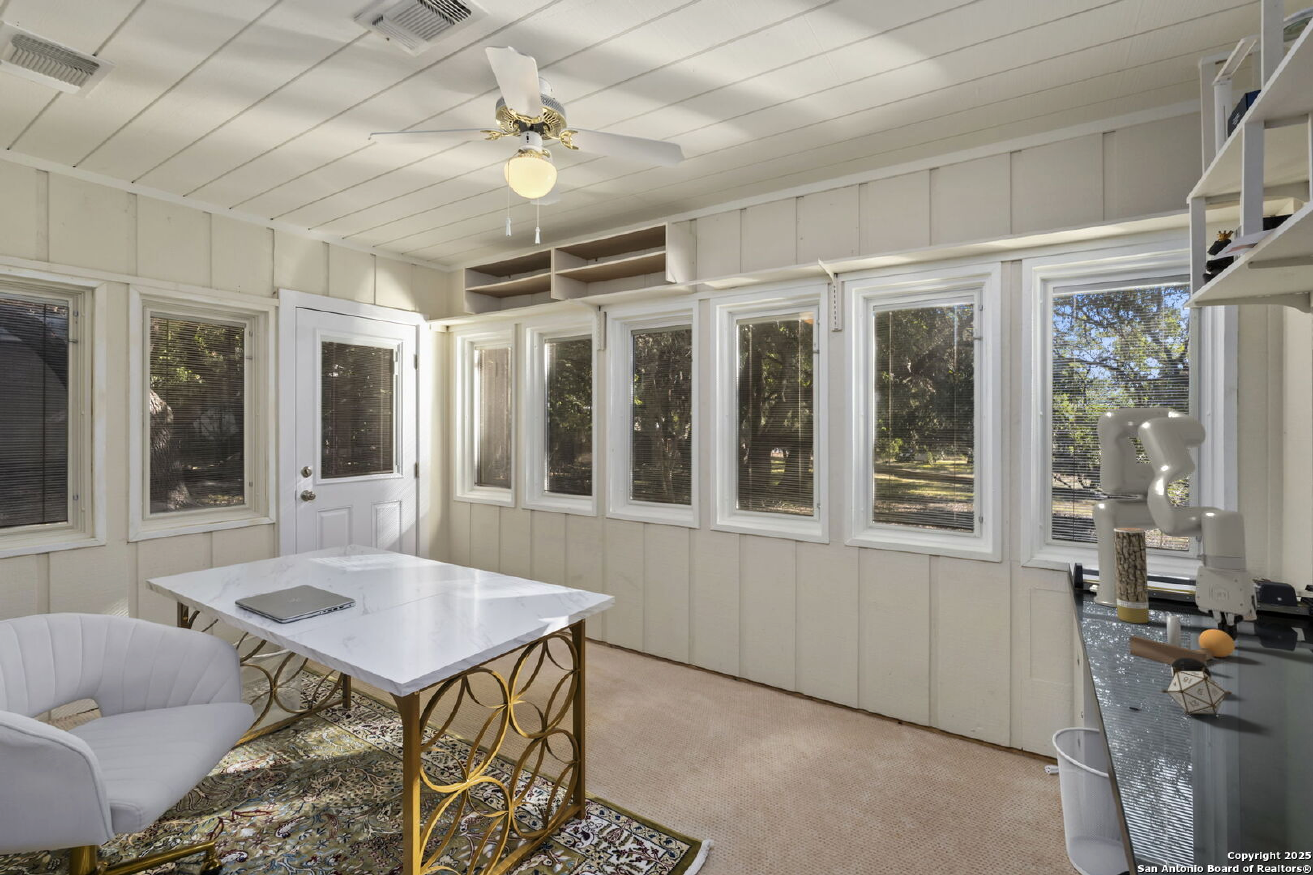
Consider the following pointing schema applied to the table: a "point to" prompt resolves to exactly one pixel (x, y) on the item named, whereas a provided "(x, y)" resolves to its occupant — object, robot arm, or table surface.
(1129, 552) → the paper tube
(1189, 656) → the brown wooden plank
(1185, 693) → the game die
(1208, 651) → the maple pin
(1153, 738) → the table surface
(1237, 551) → the robot arm
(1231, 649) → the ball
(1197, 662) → the billiard ball
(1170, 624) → the grey pin
